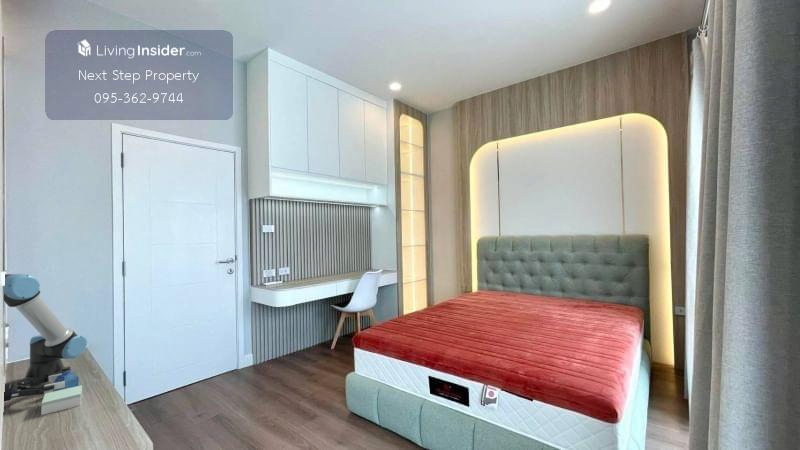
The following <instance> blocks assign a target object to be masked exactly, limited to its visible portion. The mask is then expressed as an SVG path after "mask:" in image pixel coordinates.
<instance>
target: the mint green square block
mask: <svg viewBox="0 0 800 450" xmlns="http://www.w3.org/2000/svg"><path fill="white" fill-rule="evenodd" d="M82 397H83V385H82V384H81V385H78V386H76V387H72V388H67V389H63V390H58V391H54V392H53V391H50V392H49V391H48V392H44V394H43V397H42V400H41V401H42V402H41V408H40V409H41V414H40V415H41V416H43V415H47V414H52V413H55V412H60V411H63V410H68V409H72V408H75V407H79V406H81V404H82Z"/></svg>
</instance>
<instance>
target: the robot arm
mask: <svg viewBox="0 0 800 450" xmlns="http://www.w3.org/2000/svg"><path fill="white" fill-rule="evenodd" d="M4 274H5V286H4V301H3V302H4V303H5V304H6V305H7V306H8V307H9V308H16V310H17V311H18V312H19V313H20V314H21V315H22V316H23V317H24V318H25V319H26V320H27V321H28V322H29V323H30V324H31V326H32V327H34V329H35V330H36V331H37V332H38V334H37V335H35V336H34V335H33V336H32V337H31V338H30V341H29V366H28V369H27V371H26V373H25V375H24V381H22V382H21V381H19V382H17V384H16V385H14V383H13V382H6V383H4V384H5V392H4V402H7V401H8V402H9V401H11V400H12V399H16V398H22V397H29V396H32V397H33V396H40V395H41V396H42V395H45V393H47V392H49V391H50V392H52V391H53V390H55V389H60V388H64V387H65V381H63V382H58V383H52V382H54V381H55V379H56V378H57V377H58V376H60V375H62V374H61V371H62V368H64V367H65V365H64V363H63V361H62V359H64V360H69V359H70V360H71V359H74V358H75V359H76V358H78V357H79V356H81V355H82V354H83V353H84V351H86V348H87V345H88V339H87V338H86V337H85V336H84V335H79V334H77V333H76V332H75V331H74V330H73V329H72V328H67V327H65V325H64V324H63V323H62V322H61V320H60V319H59V318H58V317H57V316H56V315H55V314H54V312H53V311H52V309H50V308H49V306H48V305H47V304H46V302H44V301H43V300H42V299H41V297H40V295H41V293H42V292H41V290H40V286H41V284H40V283H41V282H40V281H39V280H38V278H36V277H35V276H34V275H30V274H26V273H4ZM45 383H47V384H45ZM48 383H49V384H48ZM42 384H45V385H44V386H39V385H42Z"/></svg>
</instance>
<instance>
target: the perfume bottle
mask: <svg viewBox="0 0 800 450" xmlns="http://www.w3.org/2000/svg"><path fill="white" fill-rule="evenodd" d="M61 374H62V375H60V376H58V377H57V378H56V379H55V381H52V382H53V383H58V382H63V381H65V387H64V388H60V389H55V390H52V392H54V391H58V390H63V389H67V388H72V387H76V386H79V377H78V376H77V374H75V373H73V372H72V368H71V366H64V368H62V371H61ZM53 383H52V384H53Z"/></svg>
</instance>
